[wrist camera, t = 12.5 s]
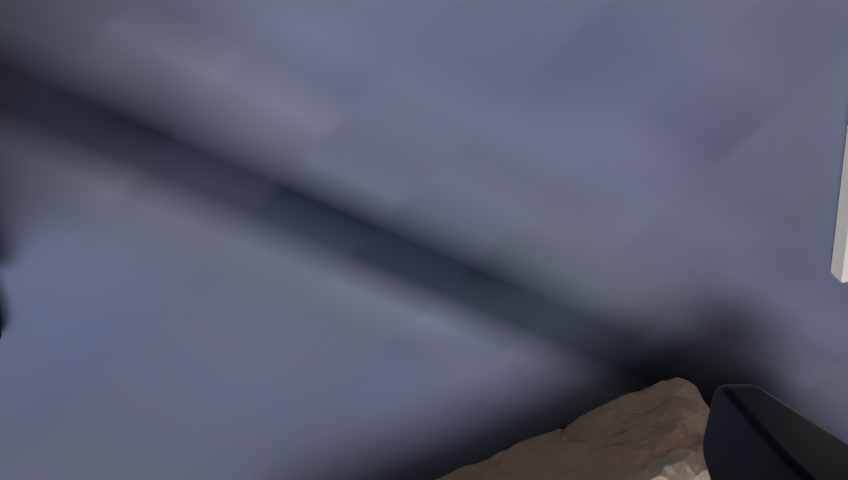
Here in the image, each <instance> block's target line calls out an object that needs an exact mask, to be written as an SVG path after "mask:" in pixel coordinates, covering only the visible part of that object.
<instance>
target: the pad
mask: <svg viewBox="0 0 848 480" xmlns="http://www.w3.org/2000/svg"><path fill="white" fill-rule="evenodd" d="M831 273H832V274H833V275H834V276H835V277H836V278H837V279H838V280H839V281H840V282H841V283H842V282H848V127H847V135H846V144H845V152H844V161H843V170H842V178H841V187H840V196H839V204H838V213H837V221H836V230H835V239H834V247H833V256H832V264H831Z"/></svg>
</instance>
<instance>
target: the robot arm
mask: <svg viewBox="0 0 848 480" xmlns="http://www.w3.org/2000/svg"><path fill="white" fill-rule="evenodd" d="M1 337H2V336H1V329H0V339H1ZM703 453H704V459H705V462H706V466H707V469H708V472H709V476H710V479H711V480H848V444H847V443H845V442H844V441H842V440H841V439H839V438H838V437H836V436H835V435H833V434H831V433H830V432H828V431H827V430H825V429H824V428H822V427H820V426H819V425H817V424H816V423H814V422H813V421H811V420H810V419H808V418H806V417H805V416H803V415H802V414H800V413H799V412H797V411H796V410H794V409H792V408H791V407H789V406H788V405H786V404H785V403H783V402H782V401H780V400H778V399H777V398H775V397H774V396H772V395H771V394H769V393H767V392H766V391H764V390H763V389H761V388H759V387H758V386H756V385H752V384H732V385H722V386H720V387H718V388H717V389H716V391H715V393H714V395H713V399H712V403H711V407H710V411H709V416H708V420H707V424H706V428H705V433H704V437H703Z"/></svg>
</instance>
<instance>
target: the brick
mask: <svg viewBox="0 0 848 480" xmlns="http://www.w3.org/2000/svg"><path fill="white" fill-rule="evenodd" d="M709 411H710V409H709V407H708V406H707V404H706V403H705V402H704V400H703V399H702V397H701V395H700V393H699V391H698V389H697V387H696V386H695V385H693V384H692V383H691V382H689V381H688V380H685V379H682V378H679V377H676V378H673V379H670V380H666V381H660V382H658V383H656V384H654V385H652V386H650V387H647V388H645V389H642V390H640V391H638V392H632V393H628V394H625V395H622V396H620V397H618V398H616V399H614V400H612V401H610V402H608V403H606V404H604V405H602V406H600V407H598V408H595V409H593V410H591V411H589V412H587V413H586V414H584V415H582V416H580V417H578V418H577V419H576V420H575V421H574V422H572V423H571V424H569V425H568V426H567V427H566V428H565V429H564V430H563V429H557V430H554V431H552V432H549V433H545V434H542V435H539V436H535V437H532V438H529V439H526V440H524V441H521V442H518V443H516V444H514V445H513V446H512V447H510V448H509V449H507V450H503V451H500V452H499V453H497V454H495V455H494V456H492V457H490V458H489V459H487V460H484V461H481V462H479V463H476V464H472V465H466V466H463V467H461V468H459V469H457V470H455V471H453V472H451V473H449V474H447V475H445V476H443V477H440V478H438V479H435V480H711V479H710V476H709V472H708V469H707V466H706V462H705V459H704V453H703V437H704V433H705V428H706V424H707V420H708V416H709Z"/></svg>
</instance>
